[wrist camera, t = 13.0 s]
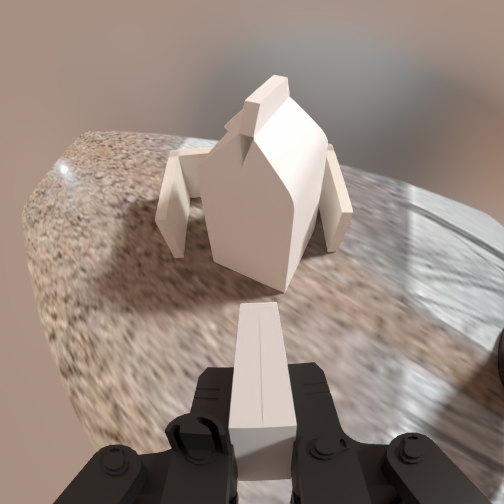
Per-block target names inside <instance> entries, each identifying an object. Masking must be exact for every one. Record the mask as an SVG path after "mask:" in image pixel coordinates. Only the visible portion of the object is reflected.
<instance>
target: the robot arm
mask: <svg viewBox="0 0 504 504" xmlns="http://www.w3.org/2000/svg"><path fill="white" fill-rule="evenodd" d="M498 365H499V372H500V377H501V380H502V383H503V385H504V331H503V334H502V336H501V340H500V344H499V352H498ZM165 433H166V436H167V438H168V440H169V443H170V445H171V447H172V449H169V450H167V451H164V452H159V453H151V454H142V455H138V454H137V453H136V451H134V450H133V449H131V448H130V447H128V446H124V445H120V444H118V445H109V446H106V447H103V448H101V449H100V450H99V451H98V452H96V453H95V454H94V455H93V457H92V458H91V459H90V461H88V463H87V464H86V465H85V466H84V467H83V469H82V470H81V471H80V472H79V473H78V475H77V476H76V477H75V478H74V479H73V481H72V482H71V483H70V484H69V485H68V486H67V488H66V489H65V490H64V491H63V493H62V494H61V495H60V496H59V497H58V499H57V500H56V501H55V502H54V503H53V504H238V493H237V479H238V481H257V480H280V479H291V477H292V487H293V489H292V495H291V501H290V504H492V503H491V502H490V501H489V500H488V499H487V498H486V497H485V496H484V495H483V494H482V493H481V492H480V491H479V489H478V488H477V487H476V486H475V485H474V484H473V483H472V482H471V481H470V480H469V479H468V478H467V477H466V476H465V475H464V474H463V472H462V471H461V470H460V469H459V468H458V467H457V466H456V465H455V464H454V463H453V462H452V461H451V460H450V459H449V458H448V457H447V455H446V454H445V453H444V452H443V451H442V450H441V449H440V448H439V447H438V446H437V445H436V444H435V443H434V442H433V441H432V440H431V439H430V438H428V437H427V436H426V435H423V434H419V433H405V434H402V435H399V436H397V437H396V438H395V439H393V440H392V441H391V442H390V444H389V445H380V444H365V443H360V442H357V441H355V440H353V439H351V438H350V437H349V436H347V435H346V434H345V433H344V432H343V430H342V428H341V425H340V422H339V419H338V416H337V412H336V409H335V406H334V403H333V399H332V396H331V393H330V390H329V387H328V384H327V381H326V377H325V374H324V371H323V370H322V369H321V368H320V367H319V366H318V365H317V364H316V363H315V362H312V363H300V364H287V360H286V353H285V347H284V341H283V335H282V329H281V323H280V318H279V312H278V306H277V302H267V303H241V304H240V313H239V323H238V333H237V344H236V354H235V364H234V367H231V368H214V367H207V369H206V370H205V371H204V372H203V373H202V374H201V375H200V376H199V379H198V383H197V387H196V391H195V395H194V400H193V403H192V407H191V411H190V413H187V414H184V415H182V416H179V417H177V418H175V419H174V420H173V421H171V422H170V423H169V424H168V426H167V428H166V429H165Z"/></svg>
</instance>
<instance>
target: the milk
mask: <svg viewBox="0 0 504 504" xmlns="http://www.w3.org/2000/svg"><path fill="white" fill-rule="evenodd" d="M289 96H290V94H289V86H288V79H287V77H282V76H277V75H273V76H272V77H271V78H270V79H269V80H267V81H266V82H265V83H264V84H263V85H262V86H260V87H259V88H258V89H257V90H256V91H255V92H254V93H253V94H252V95H250V96H249V97H248V98H247V99H246V100H245V103H244V108H243V109H242V110H241V111H240V112H239V113H238V114H236V115H235V116H234V117H233V118H232V119H231V120H230V121H229V122H228V123H227V124H226V125H225V126H224V127H225V128H226V129H227V130H228V132H227V133H226V135H225V136H224V137H223V138H222V139H221V140H220V141H219V142H218V143H217V144H216V145H215V146H214V147H213V148H212V150H211V151H210V152H209V153H208V154H207V155H206V156H205V157H204V158H203V160H202V162H201V164H200V166H199V168H198V171H197V178H198V183H199V189H200V194H201V199H202V205H203V210H204V215H205V220H206V225H207V230H208V235H209V240H210V245H211V250H212V255H213V260H214V262H216V263H218V264H220V265H222V266H225V267H227V268H229V269H231V270H233V271H236V272H238V273H240V274H242V275H245V276H247V277H249V278H251V279H254V280H256V281H258V282H260V283H263V284H265V285H267V286H269V287H272V288H274V289H276V290H278V291H281V292H283V293H285V291H286V289H287V287H288V285H289V283H290V281H291V279H292V277H293V275H294V272H295V270H296V268H297V266H298V264H299V262H300V260H301V258H302V255H303V253H304V251H305V249H306V247H307V245H308V242H309V240H310V238H311V236H312V234H313V231H314V229H315V224H316V218H317V212H318V206H319V201H320V195H321V188H322V182H323V176H324V169H325V162H326V155H327V148H328V141H327V138H326V135H325V134H324V133H323V131H322V130H321V128H320V127H319V126H318V125H317V124H316V123H315V122H314V121H313V120H312V119H311V117H309V115H308V114H307V113H306V112H305V111H304V110H303V109H302V108H301V107H300V106H298V104H297V103H296V102H295V101H294V100H292V99H291V98H290V97H289Z"/></svg>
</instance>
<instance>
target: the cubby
mask: <svg viewBox="0 0 504 504" xmlns="http://www.w3.org/2000/svg"><path fill="white" fill-rule="evenodd" d="M212 148H213V147H203V148H192V149H182V150H173V151H170V155H169V159H168V163H167V167H166V171H165V175H164V179H163V183H162V188H161V192H160V197H159V202H158V206H157V211H156V216H155V222H156V224H157V226H158V228H159V230H160V232H161V234H162V236H163V238H164V239H165V241H166V243H167V245H168V247H169V249H170V251H171V253H172V255H173V256H174V258H184V251H185V241H186V232H187V223H188V215H189V207H190V199H191V198H197V197H201V194H200V189H199V183H198V178H197V171H198V168H199V166H200V164H201V162H202V160H203V158H204V157H205V156H206V155H207V154H208V153H209V152H210V151H211V150H212ZM319 211H320V216H321V221H322V226H323V231H324V236H325V242H326V247H327V252H337V250H338V248H339V245H340V243H341V241H342V238H343V236H344V234H345V231H346V229H347V227H348V224H349V222H350V219H351V217H352V214H353V209H352V206H351V202H350V199H349V196H348V192H347V189H346V186H345V183H344V179H343V176H342V173H341V170H340V167H339V164H338V161H337V158H336V155H335V152H334V149H333V146H332V144H328V148H327V155H326V162H325V169H324V176H323V182H322V188H321V195H320V201H319Z"/></svg>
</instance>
